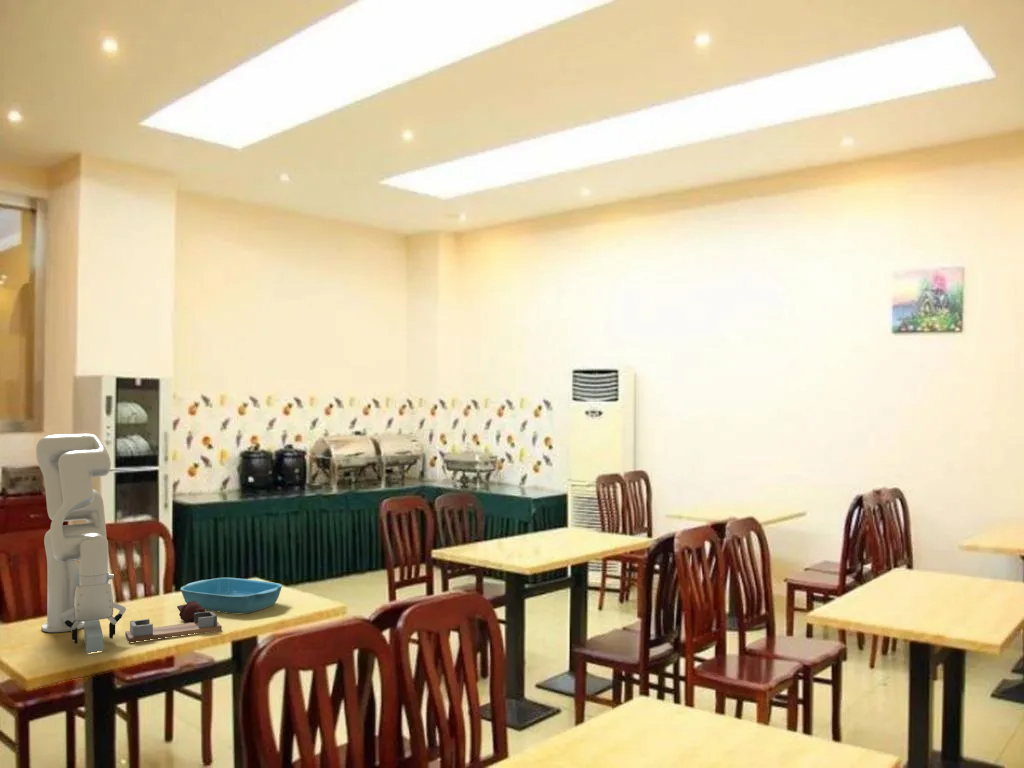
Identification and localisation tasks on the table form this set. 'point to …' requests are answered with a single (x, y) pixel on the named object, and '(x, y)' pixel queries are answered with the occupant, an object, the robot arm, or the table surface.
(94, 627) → the slat
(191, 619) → the icecream
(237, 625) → the table surface
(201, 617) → the end caps
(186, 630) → the board
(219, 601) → the casserole dish
